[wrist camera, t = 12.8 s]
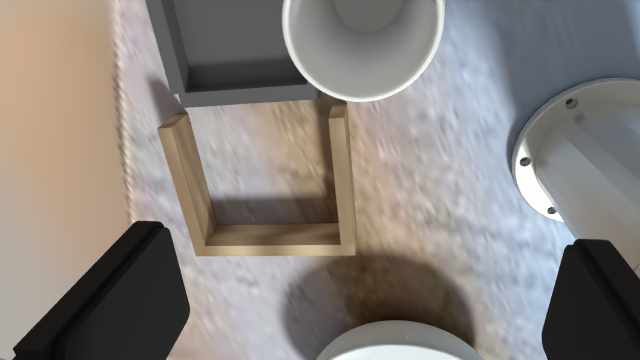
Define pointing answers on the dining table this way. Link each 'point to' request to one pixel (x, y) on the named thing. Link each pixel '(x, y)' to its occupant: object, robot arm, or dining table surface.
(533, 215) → the dining table surface
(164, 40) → the tray
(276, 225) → the oak corral
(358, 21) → the drinking glass
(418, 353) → the serving bowl
